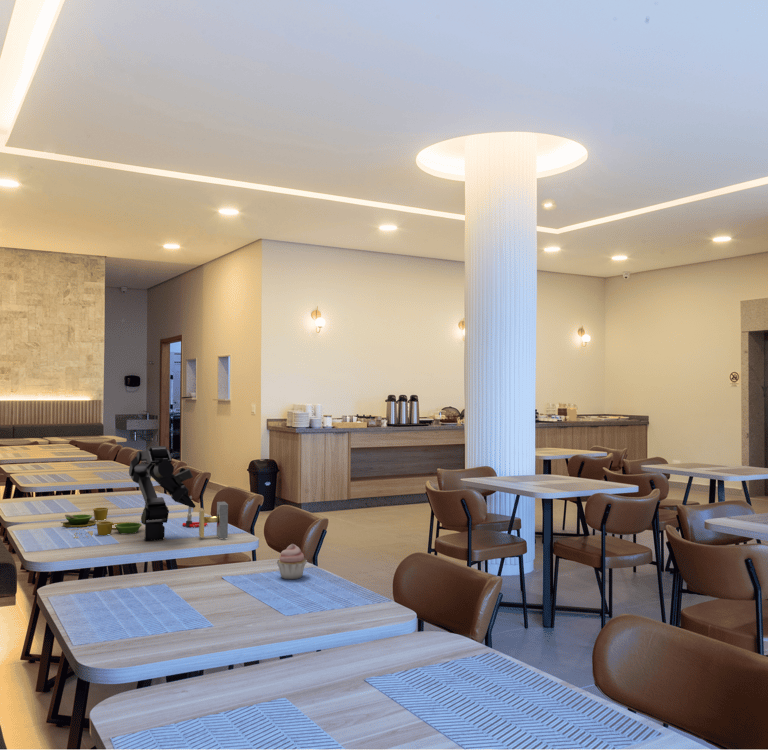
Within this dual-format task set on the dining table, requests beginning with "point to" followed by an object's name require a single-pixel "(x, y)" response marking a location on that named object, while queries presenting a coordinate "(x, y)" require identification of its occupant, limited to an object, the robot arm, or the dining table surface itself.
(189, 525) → the tow hook
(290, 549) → the cupcake
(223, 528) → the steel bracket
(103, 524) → the tableware set
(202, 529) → the brass pin
